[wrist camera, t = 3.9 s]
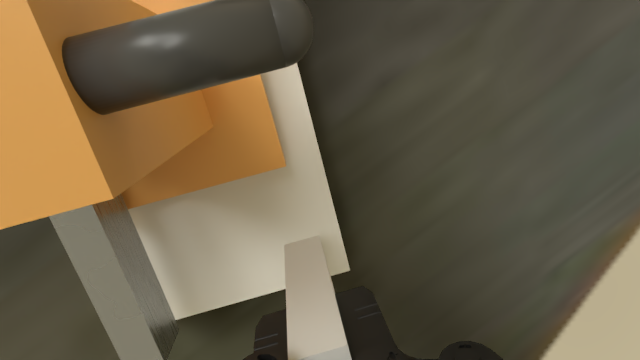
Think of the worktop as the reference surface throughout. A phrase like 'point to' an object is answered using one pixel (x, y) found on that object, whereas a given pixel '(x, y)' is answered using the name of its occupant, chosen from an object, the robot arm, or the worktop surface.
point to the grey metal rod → (118, 278)
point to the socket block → (245, 218)
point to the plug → (137, 98)
